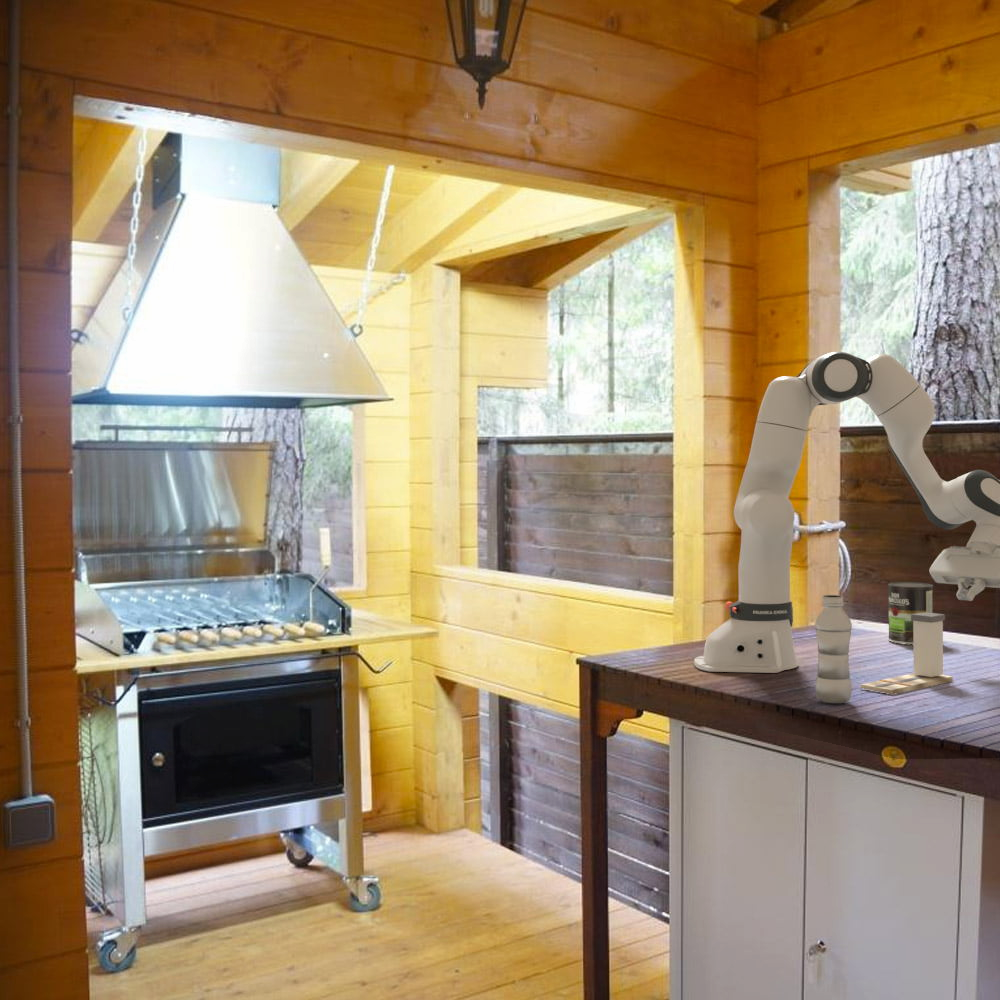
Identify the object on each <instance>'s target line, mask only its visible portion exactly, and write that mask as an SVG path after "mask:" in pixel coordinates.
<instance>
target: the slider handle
mask: <svg viewBox="0 0 1000 1000" xmlns="http://www.w3.org/2000/svg"><path fill="white" fill-rule="evenodd" d="M911 620H913V644H914V645H913V673H914V674H916V675H922V676H928V677H934V676H939V675H944V631H943V630H944V622H943V621H945V620H946V614H944V613H943V614H942V613H935V612H932V613H927V612H923V613H917V614H911Z"/></svg>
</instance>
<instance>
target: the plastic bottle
mask: <svg viewBox="0 0 1000 1000" xmlns="http://www.w3.org/2000/svg"><path fill="white" fill-rule="evenodd" d="M821 606H822V607H823V609H822V611H821V612H820V613H819V614H818V617H816V620H815V623H814V627H815V635H816V642H817V652H818V662H817V674H816V675H817V677H816V679H815V685H814V690H815V695H816V698H817V699H818V701H820V702H823V703H827V704H831V703H838V704H842V703H848V702H849V701H850V699H851V698H852V694H853V687H852V686H853V685H852V680H851V676H850V675H851V674H850V673H851V672H850V663H849V662H850V661H849V656H850V655H849V653H850V644H851V643H850V642H851V635H852V628H853V625H852V622H851V619H850V617H849V616H848V615H847V613H846V612H845V610H844V609H843V607H845V603H844V596H843V595H840V594H839V595H838V594H825V595H822V603H821Z"/></svg>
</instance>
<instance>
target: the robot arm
mask: <svg viewBox="0 0 1000 1000" xmlns="http://www.w3.org/2000/svg"><path fill="white" fill-rule="evenodd" d="M854 398H858V399H860V400H861V401H863V402H864V403H865V404H866V405H868V407H869V408H870V409H871V411H872V412H873V413H874V415H875V416H876V417H877V419H878V420H879V422H880V423H881V424H882V426H883V428H884V430H885V433H886V435H887V443H888V444H887V445H888V447H889V449H890V451H891V453H892V455H893V457H894V459H895V461H896V463H897V464H898V466H899V467H900V469H901V471H902V472H903V473H904V475H905V477H906V478H907V480H908V481H909V483H910V485H911V486H912V488H913V490H914V491H915V493H916V494H917V496H918V497H917V498H918V499H919V501H920V504H921V506H922V509H923V511H924V514H925V516H926V517H927V519H928V520H929V521H930V522H931V523H932V524H933V525H935V527H938V528H940V529H942V530H953V529H956V528H958V527H961V526H962V525H964V524H965V523H967V522H970V521H973V522H975V524H976V526H975V528H974V530H973V532H972V534H971V536H970V538H969V540H968V542H967V543H966V546H957V545H951V546H949V547H947V548H944V549H943V550H942V551H941V552H940V553H939V554H938V556H937V557H936V558H935V560H934V561H933V563H932V564H931V566H930V567H929V571H928V572H929V574H930V577H931V578H932V579H933V580H934V582H935V583H937V584H948V585H957V587H958V590H957V592H956V598H957V599H958V600H959V601H970V602H973V600H974V598H975V596H977V595H978V594H979V593H981V592H982V591H984V590H985V589H986V588H994V589H995V588H997V589H1000V479H998V478H997V477H996V476H995V475H994V474H993V473H990V472H989V471H987V470H982V469H974V470H972V471H970V472H968V473H965V474H962V475H960V476H957V477H956V478H954V479H952V480H949V481H946V480H944V479H942V478H941V477H940V475H939V474H938V472H937V471H936V469H935V468H934V465H933V464H932V463H931V461H930V459H929V457H928V456H927V455H926V453H925V450H924V446H923V443H924V442H923V441H924V438H925V435H926V434H927V432H928V431H929V430H930V428H931V426H932V424H933V421H934V418H935V405H934V402H933V400H932V398H931V397H930V395H929V394H928V392H927V391H926V390H925V389H924V387H923V386H922V385H921V384H920V382H918V380H917V379H916V378H915V377H914V376H913V374H912V373H911V372H910V371H909V370H908V369H907V368H905V366H903V364H901V363H900V362H899V361H898V360H897V359H895V358H894V357H893V356H891V355H890V354H887V353H878V354H874V355H872V356H870V357H868V358H866V359H864V358H861V357H858V356H855V355H854V354H850V353H847V352H843V351H832V352H827V353H823V354H821V355H819V356H817V357H816V358H814V359H813V360H810V361H809V363H808V364H806V365H805V367H804V368H803V369H802V371H801V372H799V374H798V375H797V376H790V375H789V376H788V375H786V376H785V375H783V376H779V377H776V378H774V379H773V380H772V381H771V382H769V384H768V386H767V389H766V391H765V393H764V395H763V398H762V400H761V404H760V406H759V411H758V414H757V417H756V418H757V419H756V422H755V426H754V431H753V436H752V441H751V446H750V450H749V455H748V458H747V461H746V464H745V468H744V472H743V475H742V478H741V482H740V485H739V489H738V491H737V496H736V499H735V504H734V509H733V518H734V521H735V523H736V525H737V526H738V528H739V529H740V530H741V534H740V535H741V536H740V550H739V559H738V565H737V566H738V567H737V570H738V572H737V573H738V600H737V601H735V602H732V601H726V602H725V603H724V609H726V610H727V611H728V612H729V617H730V618H729V619H728V620H726V621H724V622H723V623H722V624H721V625H720V626H718V627H717V628H716V629H714V630H713V631H712V632H711V633H709V634H708V636H707V637H706V641H705V644H704V650H703V655H700V656H697V657H695V658H694V660H693V661H694V662H693V664H694V666H695V667H696V668H697V669H699V670H701V671H705V672H715V673H717V672H718V673H719V672H720V673H723V672H725V673H726V672H727V673H757V674H759V673H765V674H766V673H767V674H770V673H771V674H776V673H777V674H778V673H780V672H782V671H785V670H787V671H788V670H791V669H795V668H798V667H799V666H800V664H799V662H798V658H797V654H796V650H795V645H794V640H793V639H794V638H793V631H792V629H793V628H792V627H793V624H794V623H793V622H794V608H793V601H791V572H790V569H791V558H792V550H793V540H794V539H793V538H794V526H795V524H794V523H795V509H794V506H793V504H792V501H791V500H790V499H789V498H790V494H791V490H792V488H793V485H794V481H795V479H796V475H798V474H797V473H798V471H799V469H800V467H801V464H802V463H801V462H802V458H803V452H804V449H805V444H806V438H807V435H808V430H809V424H810V418H811V416H812V413H813V411H814V409H816V407H817V406H826V405H837V404H841V403H843V402H845V401H849V400H852V399H854ZM969 586H970V588H969Z"/></svg>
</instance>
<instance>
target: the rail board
mask: <svg viewBox="0 0 1000 1000" xmlns="http://www.w3.org/2000/svg"><path fill="white" fill-rule="evenodd" d="M953 678H954V677H953V675H946V674H943V675H939V676H934V677H928V676H922V675H916V674H914V672H913V673H908V674H903V675H899V676H894V677H889V678H885V679H879V680H876V681H870V682H865V683H861V684H860V689H861V688H864V689H869V690H874V691H879V692H885V693H889V694H895V693H899V694H901V693H900V692H904V693H906V692H905V691H908V692H911V690H912V691H916V689H917V690H921V689H926V688H930V687H934V685H935V686H937V685H938V684H939V685H942V684H947V682H948V683H952V682H953V681H954V679H953ZM951 681H952V682H951ZM939 685H938V686H939ZM929 686H930V687H929ZM925 687H926V688H925ZM920 688H921V689H920ZM895 695H896V694H895Z"/></svg>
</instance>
